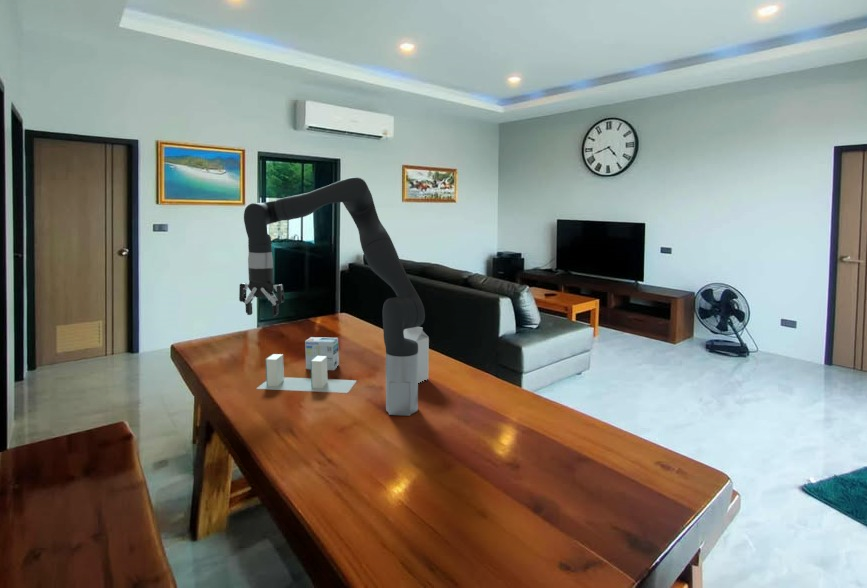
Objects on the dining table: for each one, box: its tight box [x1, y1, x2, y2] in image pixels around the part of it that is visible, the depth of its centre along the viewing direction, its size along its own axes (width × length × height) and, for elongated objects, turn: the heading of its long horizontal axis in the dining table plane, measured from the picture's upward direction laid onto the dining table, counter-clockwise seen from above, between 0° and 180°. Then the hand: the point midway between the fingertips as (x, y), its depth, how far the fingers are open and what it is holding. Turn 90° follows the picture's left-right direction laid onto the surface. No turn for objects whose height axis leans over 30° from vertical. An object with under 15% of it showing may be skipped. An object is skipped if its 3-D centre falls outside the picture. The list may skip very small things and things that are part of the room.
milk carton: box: [403, 326, 430, 384], centre depth 174 cm, size 7×7×19 cm
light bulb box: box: [304, 336, 340, 371], centre depth 188 cm, size 11×7×11 cm, turn 84°
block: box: [310, 356, 329, 388], centre depth 168 cm, size 6×4×9 cm, turn 174°
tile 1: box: [265, 353, 285, 386], centre depth 170 cm, size 6×4×9 cm, turn 175°
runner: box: [256, 376, 358, 394], centre depth 170 cm, size 12×30×1 cm, turn 84°
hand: (262, 315), depth 168 cm, fingers open, 8 cm apart
